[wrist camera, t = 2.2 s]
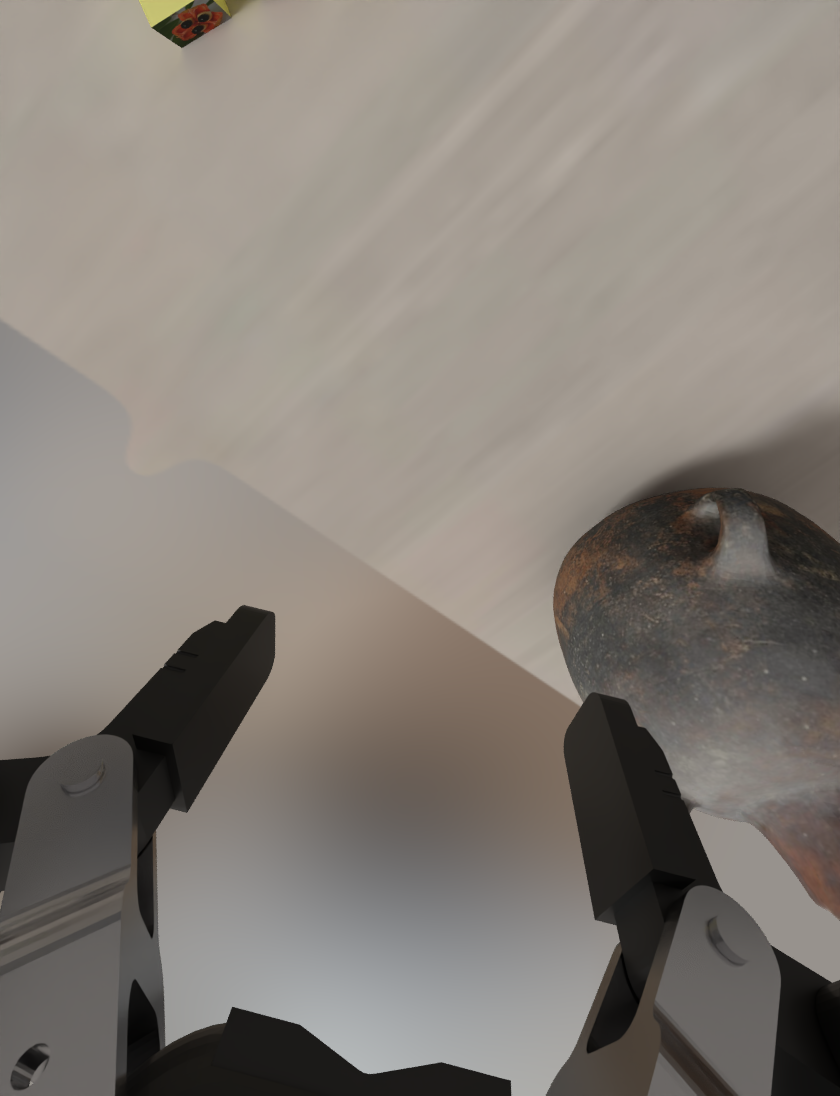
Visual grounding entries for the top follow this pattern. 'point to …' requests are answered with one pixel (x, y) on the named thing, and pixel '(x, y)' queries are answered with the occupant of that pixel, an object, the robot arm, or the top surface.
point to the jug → (721, 658)
